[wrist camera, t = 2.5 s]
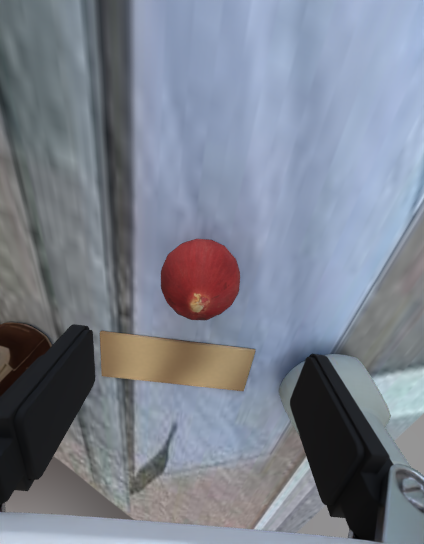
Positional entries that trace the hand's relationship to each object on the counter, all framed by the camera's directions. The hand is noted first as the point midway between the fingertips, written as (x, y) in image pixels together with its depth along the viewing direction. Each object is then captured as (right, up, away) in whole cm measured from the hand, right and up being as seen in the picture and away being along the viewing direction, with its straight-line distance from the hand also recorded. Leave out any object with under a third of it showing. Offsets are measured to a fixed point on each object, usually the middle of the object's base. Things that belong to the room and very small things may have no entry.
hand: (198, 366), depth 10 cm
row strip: (-3, -6, +15) cm, 16 cm away
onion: (0, +5, +11) cm, 12 cm away
